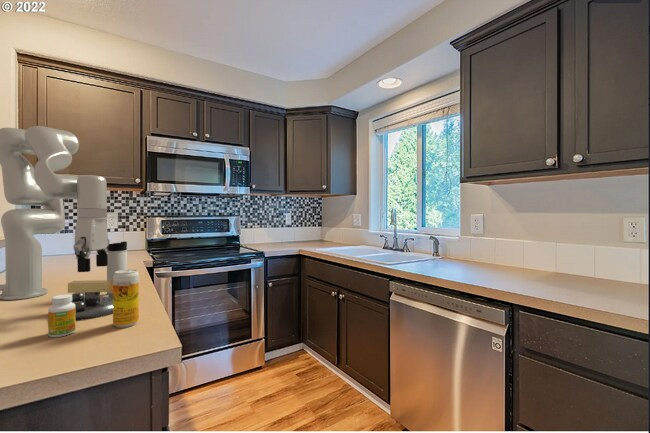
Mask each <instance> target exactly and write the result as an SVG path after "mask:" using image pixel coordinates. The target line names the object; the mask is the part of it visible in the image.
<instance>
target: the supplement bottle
mask: <svg viewBox="0 0 650 433" xmlns="http://www.w3.org/2000/svg"><path fill="white" fill-rule="evenodd" d="M71 301H72V294H71V293H68V294H66V293H65V294H60V295H59V294H58V295H54V296H52V298H51V305H50V306H49V307H48V314H47V319H48V321H47V322H48V324H47V325H48V328H47V330H48V331H47V333H48V334H47V335H48V337H50V338H60V337H61V338H62V336H63V337H66V335H67V336H69V334H70V335H72V334H74V333H75V332H76V326H77V325H76V323H77V322H76V321H77V320H76V306H75V304H74V303H72V302H71Z"/></svg>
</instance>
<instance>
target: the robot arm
mask: <svg viewBox="0 0 650 433" xmlns="http://www.w3.org/2000/svg"><path fill="white" fill-rule="evenodd" d="M79 146H80V143H79V139H78V137H77V136H76V135H75V134H74V133H73V132H70V131H68V130H62V129H59V128H52V127H48V126H44V125H43V126H42V125H33V126H30V127H28V128H27V129H22V128H16V127H0V167H1V175H2V185H3V186H2V187H3V194H4V197H5V198H4V199H5V200H6V202H7V203H9V204H11V205H16V206H35V207H37V206H40V207H43V208H14V209H13V208H12V209H9V210H7V211H5V212H4V213H2V216H1V219H0V223H1V228H2V232H3V238H4V247H5V248H4V249H5V250H4V251H5V252H4V253H5V259H4V260H5V284H0V291H1V294H0V300H4V301H14V300H15V301H16V300H24V299H29V298H31V299H32V298H35V297H39V296H44V295H46V294H47V293H48V291H49V290H48V288H46V287H43V247H42V244H41V242H40V241H39V240H38V239H37V238H36V237H35V235H44V234H46V235H47V234H57V233H58V234H59V233H60V232H62V231H63V230H64V228H65V225H66V216H65V215H66V214H65V207H64V206H65V204H64V200H65V199H66V200H76V207H77V210H76V211H77V212H76V213H77V217H76V218H77V219H76V224H75V227H74V228H75V230H74V243H73V246H72V247H73V250H74V254H75V258H76V260H77V273H90V272H91V258H90V255H91V253H92V252H95V251H96V253H97V254H95V261H96V262H95V263H96V267H107V266H108V249H109V244H110V242H111V240H110V239H109V235H108V233H109V232H108V224H107V220H108V200H107V199H108V193H107V192H108V190H107V185H108V184H107V179H106V178H105V177H104V176H101V175H96V174H95V175H93V174H82V175H79V176H77V175H70V174H61V173H60V174H57V173H55V172H57V171H61V170H64V169H66V168H67V167H69V166H70V165H71V164H72V162H73V156H72V155H75V154H76V153H77V152H78V150H79ZM23 154H24V155H25V154H26V155H31V156H32V155H33V156H36V158H37V159H38V161H37V162H36V164H35V165H33V164H32V163H31V161H29V160H28V159H27V157H25V156H24V155H23Z"/></svg>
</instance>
